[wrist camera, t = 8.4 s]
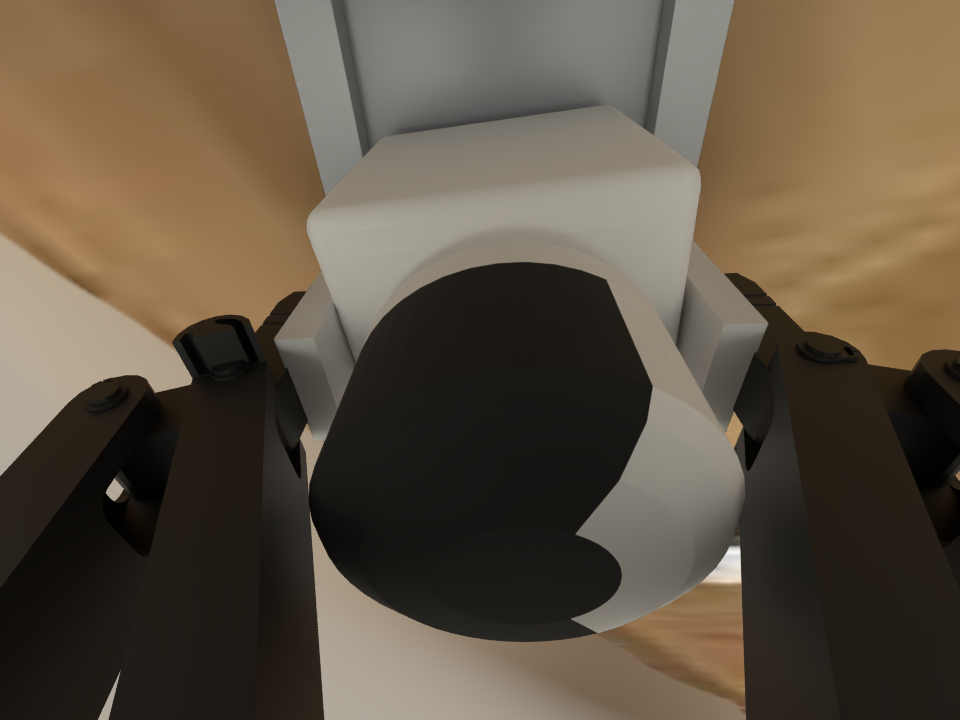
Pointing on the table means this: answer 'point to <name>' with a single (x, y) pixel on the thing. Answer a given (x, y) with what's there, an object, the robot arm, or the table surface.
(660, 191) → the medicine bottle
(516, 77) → the lane
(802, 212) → the table surface
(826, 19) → the table surface
